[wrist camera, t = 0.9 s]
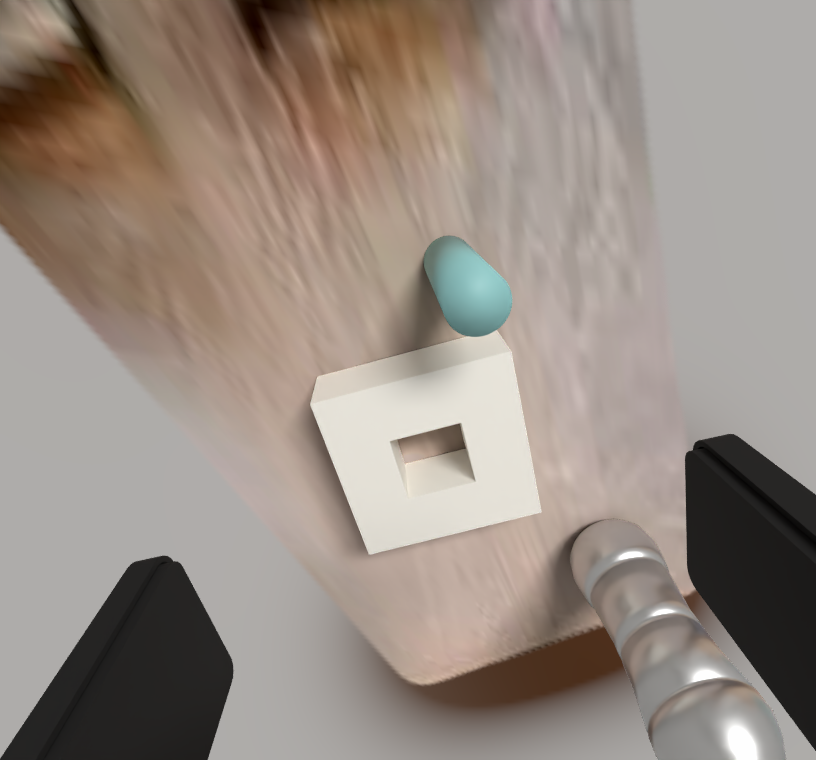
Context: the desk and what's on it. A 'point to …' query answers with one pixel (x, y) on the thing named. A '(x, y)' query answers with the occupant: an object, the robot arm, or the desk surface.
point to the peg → (467, 287)
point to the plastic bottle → (670, 653)
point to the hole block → (420, 412)
